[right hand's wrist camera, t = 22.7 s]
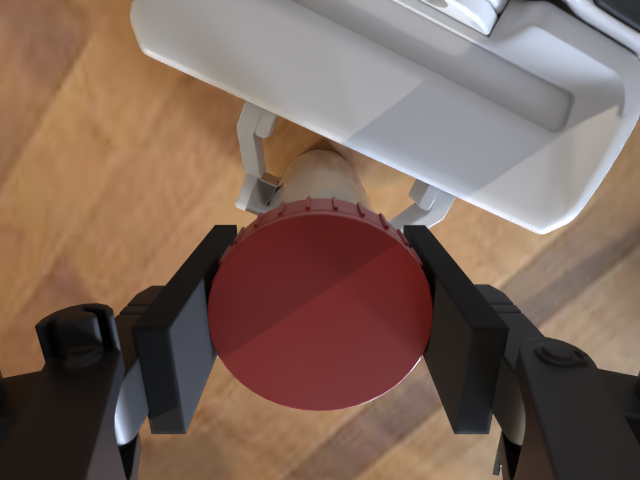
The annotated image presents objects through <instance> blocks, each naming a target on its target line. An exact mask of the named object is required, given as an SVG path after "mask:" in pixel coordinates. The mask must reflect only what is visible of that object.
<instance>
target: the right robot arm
mask: <svg viewBox="0 0 640 480" xmlns="http://www.w3.org/2000/svg"><path fill="white" fill-rule="evenodd" d="M403 235H404V237H405V238H406V240H407V242H408V243H409V245H408V247H409V248H411V247H413V249H414V251H415V252H416V254H417V255H418V257H419V259H420V260H421V262H422V264H423V266H421V269H422V270H423V272H424V274H425V276H426V279H427V280H428V282H429V284H430V287H431V288H430V291H431V295H432V299H433V318H432V327H431V334H430V338H429V341H428V343H427V346H426V349H425V351H424V353H423V356H424V359H425V361H426V364H427V366H428V369H429V371H430V374H431V376H432V379H433V381H434V384H435V386H436V389H437V391H438V394H439V396H440V399H441V401H442V404H443V406H444V409H445V412H446V414H447V417H448V419H449V422H450V424H451V427H452V429H453V432H454V434H489V430H490V425H491V420H492V415H493V414H494V416H495V418H496V419H497V421H498V423H499V425H500V427H501V428H502V431H501V436H500V441H499V445H498V450H497V455H496V459H495V464H494V471H493V475H497V476H499V472H500V467H501V468H502V475H503V480H640V372H639V375H638V376H633V375H627V374H622V373H617V372H612V371H607V370H602V369H598V368H597V366H596V364H595V363H594V361H593V360H592V359H591V358H590V357H589V356H588V355H587V354H586V353H585V352H583V351H582V350H580V349H579V348H577V347H575V346H573V345H571V344H568V343H566V342H564V341H560V340H556V339H552V338H548V337H544V336H543V334H542V333H541V332H540V331H539V330H538V329H537V328H536V327H535V326H534V325H533V324H532V323H531V322H530V321H529V320H528V318H527V317H526V316H525V315H524V314H521V311H520V310H519V309H518V308H517V307H516V306H515V305H513V302H512V301H511V300H510V299H509V298H508V297H507V296H506V295H505V294H504V293H503V292H501V291H499V290H497V289H496V288H494V287H492V286H490V285H488V284H473V283H472V282H471V281H470V279H469V278H468V277H467V276H466V274H465V273H464V272H463V271H462V270H461V268H460V267H459V266H458V265H457V263H456V262H455V261H454V260H453V259H452V257H451V256H450V255H449V254H448V252H447V251H446V250H445V249H444V248H443V246H442V245H441V244H440V243H439V241H438V240H437V239H436V238H435V237H434V235H433V234H432V233H431V232H430V230H429V229H428V228H427V227H426V226H425V225H404V228H403ZM236 237H237V225H215V226H214V227H213V228H212V230H211V231H210V232H209V233H208V234H207V236H206V237H205V238H204V239H203V241H202V242H201V243H200V244H199V245H198V247H197V248H196V249H195V250H194V252H193V253H192V254H191V255H190V256H189V258H188V259H187V260H186V261H185V263H184V264H183V265H182V266H181V267H180V269H179V270H178V271H177V272H176V274H175V275H174V276H173V277H172V278H171V280H170V281H169V282H168V283H167V285H166V286H151V287H149V288H147V289H145V290H144V291H142V292H140V293H138V294H137V295H136V296H135V297H134V298H133V299H132V300H131V301H130V302H129V303H128V304H127V307H125V308H124V309H123V310H122V311H121V312H120V315H117V316H116V317H115V318H114V313H113V309H112V308H110V307H109V306H108V305H104V304H98V303H92V304H81V305H76V306H71V307H68V308H65V309H62V310H59V311H56V312H54V313H52V314H50V315H49V316H47V317H45V318H43V319H42V320H41V321H40V322H39V323H38V324H37V325H36V326H35V328H36V332H37V335H38V338H39V342H40V345H41V349H42V352H43V355H44V359H45V362H46V363H45V365H44V367H43V369H42V371H38V372H33V373H27V374H22V375H17V376H12V377H7V378H3V376H2V374H1V371H0V480H137V476H138V469H139V462H140V455H141V441H140V436H139V429H140V427H141V426H142V424H143V422H144V420H145V418H146V416H147V414H148V418H149V423H150V429H151V434H186V432H187V430H188V427H189V425H190V422H191V420H192V417H193V415H194V412H195V410H196V407H197V405H198V402H199V400H200V397H201V395H202V392H203V390H204V387H205V384H206V382H207V379H208V377H209V374H210V372H211V369H212V367H213V364H214V362H215V359H216V357H217V354H218V353H217V351H216V349H215V347H214V345H213V342H212V339H211V336H210V332H209V324H208V315H207V304H208V297H209V292H210V289H211V286H210V284H211V282H212V280H213V278H214V277H215V275H216V273H217V271H218V269H219V267H220V266H221V264H219V261H220V259H221V258H222V256H223V254H224V253H225V251H226V250H227V248H228V246H229V245H230V246H232V245H233V244H234V243H233V242H234V240H235V238H236Z"/></svg>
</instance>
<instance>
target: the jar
mask: <svg viewBox="0 0 640 480" xmlns="http://www.w3.org/2000/svg"><path fill="white" fill-rule="evenodd" d="M307 196H311V199H313V198H327V199H332V196H335V197H336V198H337V199H338V200H342V201H347V202H351V203H354V204H357V202H360V203H361V204H362V207H365V208H367V209H369V210H370V211H372V212H374V213H375V211H374V209H373V207H372V205H371V203H370V200H369V198H368V196H367V194H366V192H365V190H364V188H363V186H362V184H361V182H360V180H359V177H358V175H357V173H356V171H355V170H354V168H353V166H352V165H351V164H350V163H349V162H348V161H347V160H346V159H345V158H344V157H343V156H341V155H339V154H337V153H335V152H332V151H328V150H312V151H308V152H305V153H303V154H301V155H299V156H298V157H296V158H295V159H294V160H293V161H292V162H291V163H290V164H289V165H288V167H287V168H286V170H285V172H284V174H283V176H282V178H281V180H280V182H279V185H278V187H277V190H276V192H275V194H274V196H273V198H272V199H271V201H270V203H269V205H268V208H267V210H266V212H268V211H270V210H272V209H274V208H276V207H278V206H280V205H281V203H282V202H284V201H285V202H286V204H287V203H290V202H293V201H298V200H304V199H306V197H307ZM266 212H265V213H266Z"/></svg>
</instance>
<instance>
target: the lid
mask: <svg viewBox="0 0 640 480" xmlns="http://www.w3.org/2000/svg"><path fill="white" fill-rule="evenodd" d="M233 243H234V244H233V245H232V246H230V245H229V246H228V248H227V250H226V251H225V253H224V254H223V256H222V258H221V259H220V261H219V264H221V266H220V267H219V269H218V271H217V273H216V275H215V277H214V278H213V280H212V282H211V284H210V286H211V289H210V292H209V297H208V304H207V315H208V324H209V332H210V336H211V339H212V342H213V345H214V347H215V349H216V351H217V353H218V356H219V357H220V359H221V360H222V362H223V363H224V365H225V366H226V368H227V369H228V370H229V371H230V372H231V373H232V375H233V376H234V377H235V378H236V379H238V380H239V381H240V382H241V383H242V384H243V385H244V386H246V387H247V388H249V389H250V390H251V391H253V392H254V393H256V394H258V395H260V396H261V397H263V398H265V399H267V400H270V401H272V402H275V403H277V404H280V405H283V406H287V407H290V408H296V409H301V410H311V411H332V410H339V409H345V408H350V407H354V406H358V405H360V404H363V403H366V402H369V401H371V400H373V399H375V398H377V397H379V396H381V395H383V394H384V393H386V392H388V391H389V390H391V389H392V388H394V387H395V386H396V385H397V384H398V383H400V382H401V381H402V380H403V379H404V378H405V377H406V376H407V375H408V374H409V373H410V372H411V371H412V369H413V368H414V367H415V365H416V364H417V363H418V361H419V360H420V358H421V356H422V354H423V353H424V351H425V349H426V346H427V343H428V341H429V338H430V334H431V327H432V318H433V299H432V295H431V291H430V288H431V287H430V284H429V282H428V280H427V279H426V276H425V274H424V272H423V270H422V269H421V266H423V264H422V262H421V260H420V259H419V257H418V255H417V254H416V252H415V251H414V249H413V247H411V248H409V247H408V245H409V243H408V242H407V240H406V238H405V237H404V235H403V233H402V232H401V230H400V229H397V230H396V229H395V228H394V227H393V226H392V225H391V224H390V223H389V222H387V221H386V219H385V217H384V216H383V214H381V213H380V214H379V215H378V214H376V213H374V212H372V211H370V210H369V209H367V208H365V207H362V204H361V203H360V202H357V204H354V203H351V202H347V201H342V200H338V199H337V198H336V197H335V196H332V199H327V198H313V199H311V196H307V197H306V199H304V200H298V201H293V202H290V203H287V204H286V202H285V201H284V202H282V203H281V205H280V206H278V207H276V208H274V209H272V210H270V211H268V212H266V213H265V214H264V213H263V212H261V213H259V215H258V217H257V219H256V220H255V221H253V222H252V223H251V224H250V225H249V226H247V227H246V229H245V228H244V227H242V229H241V230H240V232H239V233H238V235H237V237H236V238H235V240H234V242H233Z"/></svg>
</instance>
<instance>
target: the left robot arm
mask: <svg viewBox="0 0 640 480" xmlns="http://www.w3.org/2000/svg"><path fill="white" fill-rule="evenodd" d="M130 21H131V25H132V28H133V30H134V33H135V36H136V39H137V41H138V44H139V46H140V48H141V50H142V52H143V53H144V54H146V55H147V56H150V57H152V58H154V59H156V60H158V61H160V62H163V63H165V64H167V65H169V66H171V67H174V68H176V69H178V70H180V71H182V72H184V73H187V74H189V75H191V76H193V77H195V78H198V79H200V80H202V81H204V82H206V83H209V84H211V85H213V86H215V87H217V88H220V89H222V90H224V91H226V92H228V93H230V94H233V95H235V96H237V97H239V98H241V99H244V100H245V103H244V106H243V109H242V112H241V115H240V117H239V120H238V123H237V126H236V128H237V134H238V139H239V144H240V150H241V155H242V160H243V166H244V171H245V172H246V173H247V175H246V178H245V180H244V183H243V186H242V188H241V191H240V194H239V196H238V199H237V202H236V207H238V208H240V209H242V210H244V211H245V210H246V211H248V212H250V213H253V214H255V215H259V213H261V212H263V213H264V214H265V212H266V210H267V208H268V205H269V203H270V201H271V199H272V198H273V196H274V194H275V192H276V190H277V187H278V185H279V182H280V180H281V179H280V178H278V177H276V176H274V175H271V174H269V173H267V172H266V167H265V160H264V153H263V145H262V138H264V139H265V138H267V137H269V136H270V135H271V134H273V132H274V130H275V127H276V125H277V122H278V120H279V117H280V116H281V117H283V118H285V119H287V120H290V121H292V122H294V123H296V124H298V125H301V126H303V127H305V128H307V129H309V130H312V131H314V132H316V133H318V134H320V135H322V136H325V137H327V138H329V139H331V140H333V141H336V142H338V143H340V144H342V145H344V146H347V147H349V148H351V149H353V150H355V151H358V152H360V153H362V154H364V155H366V156H368V157H371V158H373V159H375V160H377V161H379V162H382V163H384V164H386V165H388V166H390V167H393V168H395V169H397V170H399V171H401V172H404V173H406V174H408V175H410V176H412V177H414V178H417V179H416V181H415V183H414V185H413V187H412V188H411V190H410V192H409V197H410V198H411V199H412V200H413V201H414V202H415V203H414V204H413V205H411V206H410V207H409V208H407V209H406V210H404V211H403V212H401V213H400V214H399V215H397V216H396V217H394V218H393V219H391V220H390V221H389V223H390V224H391V225H392V226H393V227H394V228H395V229H396V230H397V229H400V230H401V232H402V233H403V228H404V225H425V226H426V227H427V228H429V227H431V226H433V225H434V224H436V223H438V222H439V221H441V220H443V219H444V217H445V215H446V213H447V212H448V210H449V208H450V207H451V205H452V203H453V201H454V200H455V198H456V197H458V198H460V199H463V200H465V201H467V202H469V203H471V204H474V205H476V206H478V207H480V208H482V209H485V210H487V211H489V212H491V213H493V214H496V215H498V216H500V217H502V218H504V219H506V220H509V221H511V222H513V223H515V224H517V225H520V226H522V227H524V228H526V229H528V230H531V231H533V232H535V233H537V234H545V233H548V232H550V231H553V230H555V229H557V228H559V227H561V226H563V225H565V224H568V223H569V222H571V221H572V220H573V219H574V218H575V217H576V216H577V215H578V214H579V212H580V211H581V210H582V209H583V207H584V206H585V205H586V203H587V202H588V201H589V199H590V198H591V196H592V195H593V193H594V192H595V190H596V189H597V188H598V186H599V185H600V183H601V182H602V180H603V178H604V177H605V175H606V174H607V172H608V171H609V169H610V168H611V166H612V164H613V163H614V161H615V160H616V158H617V156H618V155H619V153H620V152H621V150H622V148H623V146H624V145H625V143H626V141H627V139H628V138H629V136H630V134H631V132H632V131H633V129H634V127H635V125H636V123H637V121H638V119H639V117H640V61H639V60H640V0H133V1H132V5H131V10H130ZM261 137H262V138H261Z"/></svg>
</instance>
